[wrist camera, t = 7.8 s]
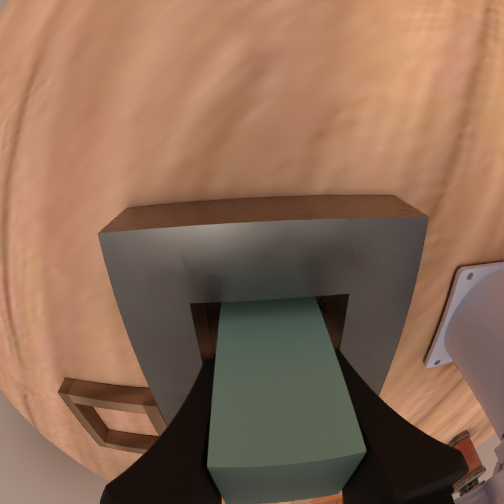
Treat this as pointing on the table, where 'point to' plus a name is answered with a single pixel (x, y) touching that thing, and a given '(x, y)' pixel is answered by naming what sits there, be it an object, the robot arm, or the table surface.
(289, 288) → the socket block
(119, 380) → the table surface
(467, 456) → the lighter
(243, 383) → the teal peg
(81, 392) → the stand frame
